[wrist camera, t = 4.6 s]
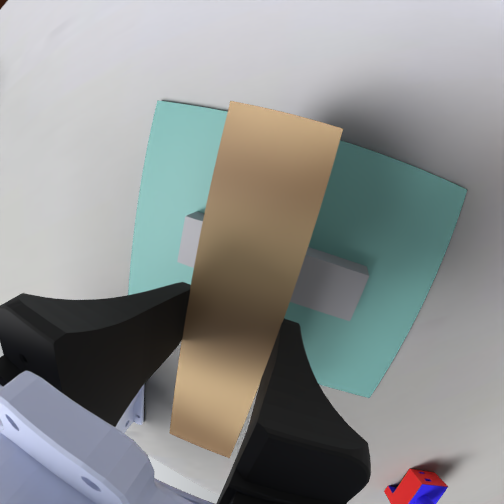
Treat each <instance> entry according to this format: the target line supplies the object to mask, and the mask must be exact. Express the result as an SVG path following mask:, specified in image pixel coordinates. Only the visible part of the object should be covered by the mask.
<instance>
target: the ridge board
mask: <svg viewBox="0 0 504 504" xmlns="http://www.w3.org/2000/svg"><path fill="white" fill-rule="evenodd" d="M227 113H228V112H227V111H221V110H216V109H211V108H205V107H199V106H193V105H186V104H180V103H173V102H165V101H157V105H156V109H155V114H154V118H153V123H152V127H151V132H150V137H149V141H148V146H147V152H146V157H145V162H144V168H143V173H142V179H141V185H140V192H139V198H138V205H137V212H136V220H135V228H134V236H133V245H132V254H131V265H130V277H129V290H128V295H132V294H136V293H141V292H145V291H149V290H153V289H156V288H160V287H164V286H167V285H171V284H175V283H179V282H185V283H187V284H190V285H191V281H192V276H193V270H194V265H195V259H196V254H197V249H198V243H199V238H200V233H201V228H202V223H203V218H204V213H205V209H206V204H207V199H208V194H209V190H210V185H211V181H212V176H213V172H214V167H215V163H216V159H217V154H218V150H219V146H220V141H221V137H222V133H223V129H224V125H225V121H226V117H227ZM466 192H467V189H465V188H462V187H460V186H458V185H456V184H454V183H452V182H449V181H447V180H445V179H443V178H440V177H438V176H436V175H433V174H431V173H429V172H426V171H424V170H421V169H419V168H417V167H414V166H412V165H409V164H407V163H404V162H401V161H399V160H396V159H393V158H391V157H388V156H385V155H383V154H380V153H377V152H374V151H371V150H368V149H366V148H363V147H360V146H357V145H354V144H351V143H347V142H344V141H341V140H340V142H339V146H338V149H337V153H336V156H335V160H334V163H333V167H332V170H331V174H330V177H329V181H328V184H327V187H326V191H325V194H324V197H323V201H322V204H321V207H320V211H319V214H318V217H317V220H316V224H315V227H314V230H313V233H312V236H311V239H310V243H309V246H308V249H307V252H306V255H305V258H304V261H303V264H302V267H301V270H300V273H299V276H298V279H297V282H296V285H295V288H294V291H293V294H292V297H291V300H290V303H289V305H288V308H287V311H286V314H285V317H284V318H285V319H288V320H290V321H293V322H296V323H299V325H300V327H301V335H302V340H303V344H304V348H305V351H306V354H307V358H308V361H309V363H310V366H311V368H312V371H313V373H314V376H315V378H316V380H317V382H318V384H320V385H324V386H327V387H330V388H334V389H337V390H341V391H345V392H348V393H352V394H356V395H360V396H363V397H367V398H370V396H371V395H372V393H373V392H374V390H375V389H376V387H377V386H378V384H379V382H380V381H381V379H382V378H383V376H384V374H385V373H386V371H387V369H388V368H389V366H390V364H391V363H392V361H393V359H394V357H395V356H396V354H397V352H398V350H399V349H400V347H401V345H402V343H403V341H404V340H405V338H406V336H407V334H408V332H409V330H410V328H411V327H412V325H413V323H414V321H415V319H416V317H417V315H418V313H419V311H420V309H421V307H422V305H423V303H424V300H425V298H426V296H427V294H428V292H429V290H430V288H431V285H432V283H433V281H434V279H435V276H436V274H437V272H438V269H439V267H440V265H441V262H442V260H443V257H444V255H445V252H446V250H447V247H448V245H449V242H450V239H451V237H452V234H453V231H454V229H455V226H456V223H457V220H458V217H459V214H460V211H461V208H462V205H463V202H464V199H465V196H466Z"/></svg>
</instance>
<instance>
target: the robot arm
mask: <svg viewBox="0 0 504 504" xmlns="http://www.w3.org/2000/svg"><path fill="white" fill-rule="evenodd" d="M190 287H191V285H190V284H187V283H185V282H179V283H175V284H171V285H167V286H164V287H160V288H156V289H153V290H149V291H145V292H141V293H136V294H132V295H127V296H122V297H116V298H108V299H97V300H64V299H53V298H45V297H40V296H34V295H29V294H24V293H22V294H20V295H18V296H17V297H15V298H13V299H11V300H10V301H8V302H6V303H4V304H2V305H1V306H0V343H1V346H2V350H3V354H4V355H3V356H2V357H0V504H214V503H211V502H209V501H206V500H203V499H201V498H198V497H195V496H193V495H191V494H188V493H186V492H183V491H181V490H179V489H177V488H174V487H172V486H170V485H168V484H165V483H163V482H161V481H159V480H157V479H155V478H154V469H153V467H152V465H151V462H150V460H149V458H148V455H147V454H146V453H145V452H144V451H143V450H142V449H141V448H140V447H139V446H138V445H137V444H136V442H135V441H134V440H132V439H131V438H129V437H128V436H127V435H125V434H124V433H125V431H126V430H127V429H128V428H129V426H130V425H131V424H132V422H135V423H137V424H139V425H141V424H142V423H143V418H144V384H145V382H146V381H147V380H148V379H149V378H150V377H151V375H152V374H153V373H154V372H155V371H156V370H157V369H158V368H159V367H160V366H161V364H162V363H163V362H164V361H165V360H166V359H167V358H168V357H169V355H170V354H171V353H172V352H173V351H174V350H175V349H176V347H177V346H178V345H179V343H180V342H181V340H182V338H183V331H184V325H185V319H186V313H187V307H188V301H189V295H190ZM370 474H371V463H370V454H369V448H368V443H367V442H366V441H365V440H364V439H363V438H362V437H361V436H360V435H359V434H357V433H356V432H355V431H354V430H353V429H352V428H351V427H350V426H349V425H348V424H347V423H346V422H345V421H344V419H343V418H342V417H341V416H340V415H339V414H338V412H337V411H336V410H335V409H334V407H333V406H332V405H331V403H330V402H329V400H328V399H327V397H326V396H325V394H324V393H323V391H322V390H321V388H320V386H319V384H318V382H317V380H316V378H315V376H314V373H313V371H312V368H311V366H310V363H309V361H308V358H307V354H306V351H305V348H304V344H303V340H302V335H301V327H300V325H299V323H296V322H293V321H290V320H288V319H285V318H284V320H283V322H282V324H281V327H280V329H279V332H278V335H277V338H276V340H275V343H274V346H273V349H272V351H271V354H270V357H269V359H268V362H267V365H266V367H265V370H264V373H263V375H262V378H261V382H260V385H259V389H258V393H257V397H256V401H255V405H254V408H253V412H252V416H251V420H250V423H249V426H248V430H247V432H246V435H245V438H244V440H243V443H242V445H241V447H240V450H239V452H238V455H237V457H236V460H235V462H234V464H233V467H232V469H231V472H230V474H229V476H228V479H227V481H226V483H225V486H224V488H223V490H222V492H221V495H220V497H219V499H218V502H217V504H346V503H347V502H348V501H349V500H350V499H352V498H353V497H354V496H355V495H356V494H357V493H359V492H360V491H361V490H362V489H363V488H364V487H365V486H366V484H367V483H368V482H369V479H370Z"/></svg>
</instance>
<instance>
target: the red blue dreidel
mask: <svg viewBox="0 0 504 504" xmlns="http://www.w3.org/2000/svg"><path fill="white" fill-rule="evenodd" d="M447 488H448V486H447V485H446V484H445V483H444V482H443V481H442V480H441V479H440V478H439V477H438V475H437V474H436V473H435V472H429V471H422V470H416V469H409V470H408V472H407V473H406V475H405V476H404V478H403V479H402V481H401V482H400V484H399V485H398V487H392V486H387V488H386V489H385V491H384V492H385V494H386V496H387V497H388V499H389V501H390V503H391V504H436V503H437V502H438V500H439V499H440V498H441V496H442V495H443V493H444V492H445V491H446V489H447Z"/></svg>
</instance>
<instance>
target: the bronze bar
mask: <svg viewBox="0 0 504 504" xmlns="http://www.w3.org/2000/svg"><path fill="white" fill-rule="evenodd" d="M342 131H343V129H342V128H339V127H336V126H332V125H329V124H326V123H322V122H319V121H315V120H311V119H308V118H304V117H300V116H296V115H292V114H288V113H284V112H280V111H276V110H272V109H267V108H263V107H258V106H253V105H249V104H244V103H238V102H233V101H230V105H229V109H228V113H227V117H226V121H225V125H224V129H223V133H222V137H221V141H220V146H219V150H218V154H217V159H216V163H215V167H214V172H213V176H212V181H211V185H210V190H209V194H208V199H207V204H206V209H205V213H204V218H203V223H202V228H201V233H200V238H199V243H198V249H197V254H196V259H195V265H194V270H193V276H192V281H191V287H190V295H189V301H188V307H187V313H186V319H185V325H184V331H183V338H182V342H181V348H180V355H179V362H178V369H177V376H176V384H175V391H174V399H173V407H172V416H171V424H170V434H172V435H174V436H176V437H179V438H181V439H183V440H185V441H188V442H190V443H192V444H195V445H197V446H200V447H202V448H204V449H207V450H209V451H212V452H215V453H217V454H220V455H222V456H225V457H228V458H230V456H231V453H232V451H233V449H234V446H235V444H236V442H237V439H238V437H239V434H240V432H241V430H242V427H243V425H244V422H245V420H246V417H247V415H248V412H249V410H250V407H251V405H252V402H253V400H254V397H255V395H256V392H257V390H258V387H259V384H260V382H261V378H262V375H263V373H264V370H265V367H266V365H267V362H268V359H269V357H270V354H271V351H272V349H273V346H274V343H275V340H276V338H277V335H278V332H279V329H280V327H281V324H282V322H283V320H284V317H285V314H286V311H287V308H288V305H289V303H290V300H291V297H292V294H293V291H294V288H295V285H296V282H297V279H298V276H299V273H300V270H301V267H302V264H303V261H304V258H305V255H306V252H307V249H308V246H309V243H310V239H311V236H312V233H313V230H314V227H315V224H316V220H317V217H318V214H319V211H320V207H321V204H322V201H323V197H324V194H325V191H326V187H327V184H328V181H329V177H330V174H331V170H332V167H333V163H334V160H335V156H336V153H337V149H338V146H339V142H340V138H341V135H342Z"/></svg>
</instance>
